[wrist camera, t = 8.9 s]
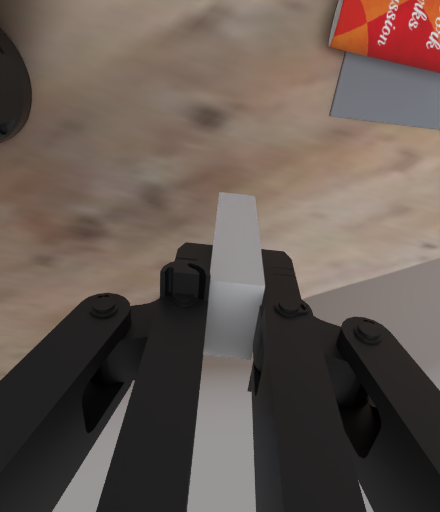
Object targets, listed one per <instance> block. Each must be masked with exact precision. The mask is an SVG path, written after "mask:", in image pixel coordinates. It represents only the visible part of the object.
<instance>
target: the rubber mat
mask: <svg viewBox="0 0 440 512" xmlns="http://www.w3.org/2000/svg"><path fill="white" fill-rule="evenodd" d="M330 116H335V117H343V118H351V119H359V120H367V121H374V122H382V123H390V124H398V125H406V126H414V127H422V128H430V129H437V130H440V73H438V72H433V71H429V70H425V69H420V68H416V67H411V66H407V65H403V64H398V63H394V62H389V61H385V60H381V59H376V58H372V57H368V56H363V55H359V54H355V53H351V52H347V51H345V55H344V59H343V63H342V67H341V71H340V75H339V79H338V83H337V87H336V91H335V95H334V99H333V103H332V107H331V111H330Z"/></svg>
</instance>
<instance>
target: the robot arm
mask: <svg viewBox="0 0 440 512" xmlns="http://www.w3.org/2000/svg"><path fill="white" fill-rule="evenodd" d="M30 107H31V86H30V80H29V76H28V73H27V70H26V67H25V64H24V62H23V60H22V58H21V56H20V54H19V52H18V51H17V49H16V47H15V46H14V44H13V43H12V41H11V40H10V39H9V38H8V36H7V35H6V34H5V33H4V32H3V31H2V29H1V28H0V142H3V141H5V140H7V139H9V138H11V137H13V136H14V135H15V134H17V133H18V132H19V131H20V129H21V128H22V127H23V125H24V124H25V122H26V120H27V118H28V115H29V112H30ZM252 352H253V358H254V361H253V366H252V372H251V376H250V382H249V387H248V391H250V392H251V391H252V411H253V412H252V413H253V437H254V438H253V439H254V466H255V491H256V492H255V493H256V512H366V508H365V504H364V501H363V497H362V493H361V490H360V486H359V483H360V485H361V486H362V489H363V491H364V493H365V495H366V497H367V499H368V501H369V503H370V505H371V507H372V509H373V511H374V512H440V391H439V389H438V388H437V387H436V386H435V385H434V384H433V382H432V381H431V380H430V379H429V377H428V376H427V375H426V374H425V373H424V372H423V371H422V369H421V368H420V367H419V366H418V364H417V363H416V362H415V361H414V360H413V359H412V357H411V356H410V355H409V354H408V353H407V351H406V350H405V349H404V348H403V347H402V345H401V344H400V343H399V342H398V341H397V339H396V338H395V337H394V336H393V335H392V334H391V332H390V331H388V330H387V329H386V328H385V327H384V326H383V325H381V324H379V323H377V322H376V321H374V320H371V319H367V318H364V317H352V318H348V319H346V320H345V321H344V322H343V323H342V326H341V327H340V326H337V325H334V324H331V323H327V322H325V321H322V320H320V319H318V318H316V317H314V316H313V313H312V310H311V308H310V307H309V305H308V304H307V303H305V302H304V301H303V300H301V296H300V292H299V288H298V284H297V280H296V277H295V272H294V267H293V263H292V260H291V258H290V257H289V256H288V255H287V254H286V253H285V252H283V251H274V250H264V249H261V245H260V236H259V227H258V218H257V209H256V200H255V196H252V195H243V194H233V193H224V192H219V200H218V208H217V217H216V225H215V233H214V242H213V245H205V244H196V243H185V244H183V245H182V246H181V247H180V248H179V249H178V251H177V254H176V259H175V261H174V262H170V263H169V264H167V265H165V266H164V267H163V268H162V270H161V271H160V298H159V299H158V300H156V301H154V302H151V303H148V304H143V305H135V306H130V303H129V301H128V300H127V299H126V298H125V297H123V296H120V295H118V294H112V293H102V294H96V295H93V296H90V297H88V298H87V299H85V300H84V301H82V302H81V303H80V304H79V305H78V306H77V307H76V308H75V309H74V310H73V311H72V312H71V313H69V314H68V315H67V316H66V317H65V318H64V319H63V320H62V321H61V322H60V323H59V324H58V325H57V326H56V327H55V328H54V329H53V330H52V331H51V332H50V333H49V334H48V335H47V336H46V337H45V338H44V339H43V340H42V341H41V342H40V343H39V344H38V345H37V346H36V347H34V348H33V349H32V350H31V351H30V352H29V353H28V354H27V355H26V356H25V357H24V358H23V359H22V360H21V361H20V362H19V363H18V364H17V365H16V366H15V367H14V368H13V369H12V370H11V371H10V372H9V373H8V374H7V375H6V376H5V377H4V378H3V379H2V380H0V512H52V511H53V509H54V507H55V506H56V504H57V502H58V501H59V499H60V498H61V496H62V495H63V493H64V491H65V490H66V488H67V486H68V485H69V483H70V482H71V480H72V479H73V477H74V475H75V474H76V472H77V471H78V469H79V467H80V466H81V464H82V463H83V461H84V459H85V458H86V456H87V455H88V453H89V451H90V450H91V448H92V447H93V445H94V443H95V442H96V440H97V438H98V437H99V435H100V434H101V432H102V430H103V429H104V427H105V426H106V424H107V423H108V421H109V419H110V418H111V416H112V415H113V413H114V411H115V410H116V408H117V407H118V405H119V403H120V402H121V400H122V398H123V397H124V395H125V394H126V392H127V391H128V389H129V387H130V386H131V383H132V380H135V383H134V386H133V389H132V393H131V396H130V399H129V403H128V406H127V410H126V413H125V417H124V420H123V423H122V426H121V430H120V433H119V436H118V440H117V444H116V447H115V450H114V454H113V457H112V460H111V463H110V467H109V470H108V474H107V477H106V480H105V484H104V487H103V490H102V494H101V497H100V500H99V504H98V507H97V511H96V512H187V504H188V494H189V485H190V475H191V466H192V455H193V447H194V437H195V427H196V418H197V408H198V398H199V390H200V380H201V371H202V360H203V355H210V356H220V357H230V358H241V359H251V357H252ZM358 480H359V482H358Z"/></svg>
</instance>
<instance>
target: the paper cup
mask: <svg viewBox="0 0 440 512" xmlns="http://www.w3.org/2000/svg"><path fill="white" fill-rule="evenodd" d="M329 47H332V48H335V49H339V50H343V51H347V52H351V53H355V54H359V55H363V56H368V57H372V58H376V59H381V60H385V61H389V62H394V63H398V64H403V65H407V66H411V67H416V68H420V69H425V70H429V71H433V72H438V73H440V0H338V4H337V8H336V11H335V15H334V19H333V23H332V28H331V32H330V38H329Z"/></svg>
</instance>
